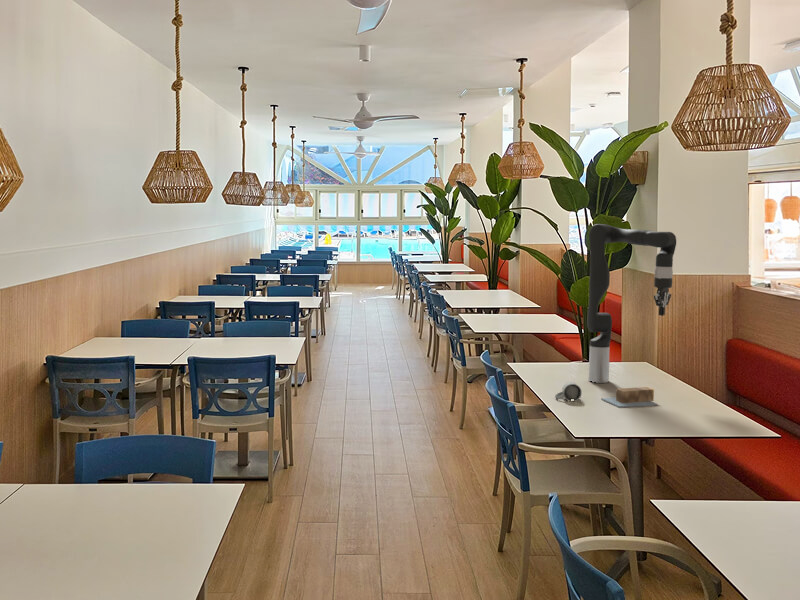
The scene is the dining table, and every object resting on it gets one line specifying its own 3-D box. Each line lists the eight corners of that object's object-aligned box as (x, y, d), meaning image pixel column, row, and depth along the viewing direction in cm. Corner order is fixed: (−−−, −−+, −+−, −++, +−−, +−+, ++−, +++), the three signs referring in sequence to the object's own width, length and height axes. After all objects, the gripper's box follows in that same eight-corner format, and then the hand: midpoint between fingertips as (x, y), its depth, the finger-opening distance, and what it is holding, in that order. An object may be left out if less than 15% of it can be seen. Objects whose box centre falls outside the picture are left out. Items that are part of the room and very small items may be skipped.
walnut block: (647, 386, 311) (616, 388, 307) (654, 389, 306) (623, 391, 302) (646, 398, 312) (615, 400, 308) (653, 401, 307) (622, 403, 303)
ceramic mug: (578, 397, 315) (578, 380, 314) (581, 402, 307) (581, 384, 306) (553, 397, 316) (554, 379, 315) (556, 401, 308) (556, 384, 307)
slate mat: (637, 397, 316) (637, 395, 316) (657, 405, 302) (657, 403, 302) (601, 399, 311) (601, 398, 311) (619, 407, 298) (619, 406, 298)
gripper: (662, 275, 328) (660, 313, 330) (648, 277, 318) (646, 315, 320) (678, 276, 322) (676, 315, 324) (665, 278, 313) (663, 317, 315)
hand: (661, 315), depth 322 cm, fingers closed
